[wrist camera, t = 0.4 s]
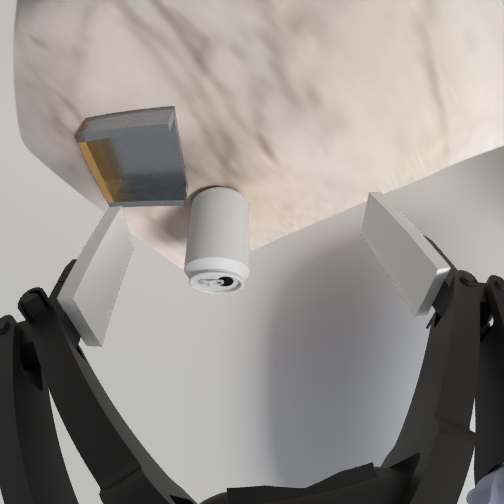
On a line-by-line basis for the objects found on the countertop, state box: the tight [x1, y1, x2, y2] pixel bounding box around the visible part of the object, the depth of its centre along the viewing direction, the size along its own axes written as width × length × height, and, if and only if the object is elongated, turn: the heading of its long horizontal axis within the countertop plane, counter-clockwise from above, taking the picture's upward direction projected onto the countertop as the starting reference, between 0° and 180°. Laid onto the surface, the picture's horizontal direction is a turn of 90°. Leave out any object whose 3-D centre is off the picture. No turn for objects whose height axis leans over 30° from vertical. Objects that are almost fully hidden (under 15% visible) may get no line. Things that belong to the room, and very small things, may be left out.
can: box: [184, 187, 250, 294], centre depth 34 cm, size 8×8×12 cm
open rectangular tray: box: [75, 106, 188, 207], centre depth 28 cm, size 12×10×3 cm
